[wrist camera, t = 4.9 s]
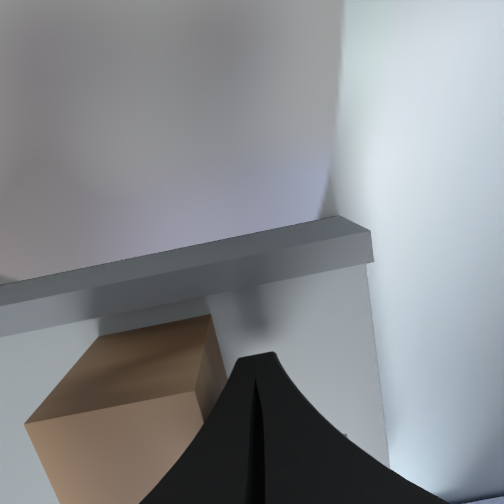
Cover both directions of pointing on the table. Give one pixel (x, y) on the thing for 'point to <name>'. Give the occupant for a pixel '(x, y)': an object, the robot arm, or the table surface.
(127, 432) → the block
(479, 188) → the table surface
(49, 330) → the trap lane
